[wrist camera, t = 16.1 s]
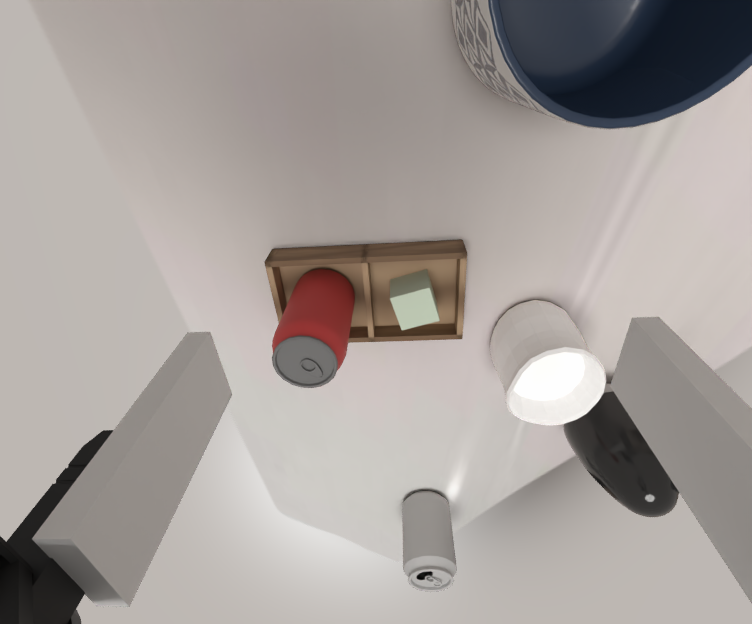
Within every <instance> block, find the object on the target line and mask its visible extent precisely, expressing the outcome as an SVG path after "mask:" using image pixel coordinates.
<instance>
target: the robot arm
mask: <svg viewBox="0 0 752 624" xmlns="http://www.w3.org/2000/svg"><path fill="white" fill-rule="evenodd" d="M610 387H611V388H612V390H613V392H614V393H615V395H616V396H617V398H618V399H619V401H620V402H621V404H622V405H623V407H624V408H625V410H626V411H627V413H628V415H629V416H630V418H631V419H632V421H633V422H634V424H635V425H636V427H637V428H638V430H639V431H640V433H641V434H642V436H643V438H644V439H645V441H646V442H647V444H648V445H649V447H650V448H651V450H652V451H653V453H654V454H655V456H656V457H657V459H658V461H659V462H660V464H661V465H662V467H663V468H664V470H665V471H666V473H667V474H668V476H669V477H670V479H671V480H672V482H673V484H674V485H675V487H676V488H677V490H678V491H679V493H680V494H681V496H682V497H683V499H684V500H685V502H686V503H687V505H688V506H689V508H690V509H691V511H692V512H693V514H694V516H695V517H696V519H697V520H698V522H699V523H700V525H701V526H702V528H703V529H704V531H705V533H706V534H707V536H708V537H709V539H710V540H711V542H712V543H713V545H714V546H715V548H716V549H717V551H718V552H719V554H720V555H721V557H722V559H723V560H724V562H725V563H726V565H727V566H728V568H729V569H730V571H731V572H732V574H733V575H734V577H735V579H736V580H737V581H738V583H739V585H740V586H741V588H742V589H743V591H744V592H745V594H746V595H747V597H748V598H749V600H750V602H751V603H752V408H750V407H749V405H748V404H746V403H745V402H744V401H743V400H742V399H741V398H740V397H739V396H738V395H737V394H736V393H735V392H734V391H733V390H732V389H731V388H730V387H729V386H728V385H727V384H726V383H725V382H724V381H723V380H722V379H721V378H720V377H719V376H718V375H717V374H716V373H715V372H714V371H713V370H712V369H711V368H710V367H709V366H708V365H707V364H706V363H705V362H704V361H703V360H702V359H701V358H700V357H699V356H698V355H697V354H696V353H695V352H694V351H693V350H692V349H691V348H690V347H689V346H688V345H687V344H686V343H685V342H684V341H683V340H682V339H681V338H680V337H679V336H678V335H677V334H676V333H675V332H674V331H672V330H671V329H670V328H669V327H668V326H667V325H666V324H665V323H664V322H663V321H662V320H661V319H660V318H659V317H641V318H632V320H631V323H630V326H629V329H628V332H627V335H626V338H625V341H624V344H623V347H622V350H621V354H620V357H619V360H618V363H617V366H616V369H615V372H614V375H613V378H612V381H611V385H610ZM231 396H232V393H231V390H230V387H229V384H228V381H227V378H226V375H225V373H224V370H223V367H222V364H221V361H220V358H219V356H218V353H217V350H216V347H215V344H214V341H213V339H212V336H211V333H210V332H194V333H187V334H186V335H185V337H184V338H183V340H182V341H181V342H180V343H179V345H178V346H177V347H176V349H175V350H174V351H173V352H172V354H171V355H170V356H169V358H168V359H167V360H166V362H165V363H164V364H163V366H162V367H161V368H160V370H159V371H158V372H157V374H156V375H155V376H154V378H153V379H152V380H151V382H150V383H149V384H148V386H147V387H146V388H145V390H144V391H143V392H142V394H141V395H140V396H139V398H138V399H137V400H136V401H135V403H134V404H133V405H132V407H131V408H130V409H129V411H128V412H127V413H126V415H125V416H124V418H123V419H122V420H121V421H120V423H119V424H118V425H117V427H116V428H115V429H114V430H109V431H108V430H107V431H102V432H101V433H99V434H98V435H97V436H96V437H95V438H93V439H92V440H91V441H89V442H88V443H87V444H85V445H84V446H83V447H82V448H81V450H80V451H79V452H78V453H77V455H76V456H75V457H74V459H73V460H72V461H71V462H70V463H69V466H68V468H65V470H64V471H63V472H62V473H61V474H60V476H59V477H58V478H57V480H56V483H55V484H52V486H51V487H50V488H49V489H48V491H47V492H46V493H45V495H44V496H43V497H42V498H41V499H40V501H39V502H38V503H37V505H36V506H35V507H34V508H33V509H32V511H31V512H30V513H29V514H28V516H27V517H26V518H25V519H24V521H23V522H22V523H21V524H20V526H19V527H18V528H17V530H16V531H15V532H14V533H13V534H12V536H11V537H10V538H9V539H8V541H7V542H6V541H5V540H3V538H2V537H0V624H81V619H80V616H79V614H78V612H77V610H76V608H77V606H78V604H79V603H80V601H81V599H82V597H83V596H84V594H85V595H86V596H87V597H88V598H89V599H90V600H91V601H92V602H93V603H94V604H95V605H96V606H115V607H129V606H130V604H131V602H132V600H133V598H134V596H135V594H136V592H137V590H138V588H139V586H140V584H141V582H142V580H143V578H144V576H145V573H146V571H147V569H148V567H149V565H150V563H151V561H152V559H153V557H154V555H155V553H156V551H157V549H158V547H159V544H160V542H161V540H162V538H163V536H164V534H165V532H166V530H167V528H168V526H169V524H170V522H171V519H172V518H173V516H174V514H175V512H176V509H177V507H178V505H179V503H180V501H181V499H182V497H183V495H184V493H185V491H186V489H187V487H188V485H189V483H190V481H191V478H192V476H193V474H194V472H195V470H196V468H197V466H198V464H199V462H200V460H201V458H202V456H203V454H204V452H205V450H206V448H207V445H208V443H209V441H210V439H211V437H212V435H213V433H214V431H215V429H216V427H217V425H218V423H219V421H220V418H221V416H222V414H223V412H224V410H225V408H226V406H227V404H228V402H229V400H230V398H231Z"/></svg>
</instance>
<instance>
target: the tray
mask: <svg viewBox="0 0 752 624" xmlns="http://www.w3.org/2000/svg"><path fill="white" fill-rule="evenodd" d="M466 264H467V251H466V248H465V245H464V243H463V240H447V241H426V242H406V243H385V244H364V245H343V246H323V247H302V248H281V249H272V251H271V252H270V254H269V256H268V257H267V259H266V260H265V266H266V271H267V275H268V279H269V283H270V287H271V292H272V296H273V300H274V304H275V308H276V313H277V317H278V321H279V323H280V320H281V318H282V316H283V313H284V311H285V309H286V306H287V304H288V302H289V300H290V297H291V295H292V293H293V290H294V288H295V286H296V284H297V282H298V281H299V279H300V278H301V277H302V276H303V275H305V274H306V273H308V272H310V271H314V270H318V269H326V270H332V271H334V272H337V273H339V274H341V275H342V276H343V277H345V278H346V279H347V280H348V282H349V283H350V284H351V286H352V287H353V290H354V293H355V303H354V309H353V315H352V322H351V328H350V334H349V340H348V342H381V341H413V340H446V339H462V334H463V317H464V299H465V281H466ZM425 269H427V271H428V275H429V278H430V281H431V284H432V288H433V291H434V294H435V298H436V301H437V307H438V313H439V319H440V321H437V322H433V323H429V324H425V325H421V326H417V327H413V328H410V329H406V330H401V327H400V324H399V322H398V319H397V316H396V314H395V311H394V308H393V306H392V303H391V300H390V279H393V278H397V277H401V276H404V275H408V274H411V273H415V272H418V271H422V270H425Z"/></svg>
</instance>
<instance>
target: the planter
mask: <svg viewBox="0 0 752 624" xmlns="http://www.w3.org/2000/svg"><path fill="white" fill-rule="evenodd" d="M451 8H452V17H453V26H454V30H455V34H456V37H457V41H458V45H459V47H460V49H461V52H462V54H463V56H464V59H465V61H466V62H467V64H468V65H469V67H470V68H471V70H472V72H473V73H474V74H475V75H476V76H477V78H478V79H479V80H480V81H481V82H482V83H483V84H484V85H485V86H486V87H488V88H489V89H490V90H492V91H493V92H494V93H496V94H498V95H500V96H502V97H504V98H506V99H508V100H510V101H512V102H515V103H517V104H520V105H522V106H525V107H527V108H530V109H533V110H535V111H538V112H541V113H543V114H546V115H549V116H551V117H554V118H557V119H560V120H563V121H566V122H570V123H573V124H577V125H581V126H584V127H589V128H600V129H620V128H633V127H637V126H641V125H646V124H650V123H654V122H658V121H660V120H663V119H666V118H668V117H671V116H673V115H676V114H679V113H681V112H683V111H685V110H687V109H689V108H691V107H693V106H695V105H696V104H698V103H700V102H702V101H704V100H706V99H708V98H709V97H711V96H712V95H714V94H715V93H717V92H718V91H719V90H721V89H722V88H724V87H725V86H727V85H728V84H730V83H731V82H733V81H734V80H735V79H736V78H737V77H739V76H740V75H741V74H742V73H743V72H744V71H746V70H747V69H748V68H749V67H750V66H752V0H451Z"/></svg>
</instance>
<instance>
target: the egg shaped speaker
mask: <svg viewBox="0 0 752 624" xmlns="http://www.w3.org/2000/svg"><path fill="white" fill-rule="evenodd" d="M610 385H611V384H605V389H604V393H603V395H602V396H601V398H600V400H599V401H598V402H597V403H596V404H595V405H594V406H593V408H592V409H591V410H590V411H589V412H588V413H587V414H585V415H584V416H582V417H580V418H578V419H577V420H574V421H571V422H568V423H565V424H564V433H565V436H566V438H567V440H568V442H569V444H570V446H571V448H572V449H573V451H574V452H575V454H576V455H577V457H578V458H579V460H580V461H581V463H582V464H583V466H584V467H585V468H586V469H587V471H588V472H589V473H590V474H591V476H592V477H593V478H594V479H595V480H596V481H597V482H598V483H599V484H600V485H601V486H602V487H603V488H604V489H605V490H606V491H607V492H608V493H609V494H610V495H611V496H612V497H613V498H615V499H616V500H617V501H618V502H619V503H621V504H622V505H623V506H625V507H626V508H628V509H629V510H631V511H632V512H634V513H636V514H639V515H642V516H646V517H659V516H663V515H665V514H667V513H669V512H670V511H671V510H672V509H673V508H674V507H675V505H676V503H677V499H678V494H679V491H678V490H677V488H676V487H675V485H674V484H673V482H672V480H671V479H670V477H669V476H668V474H667V473H666V471H665V470H664V468H663V467H662V465H661V464H660V462H659V461H658V459H657V457H656V456H655V454H654V453H653V451H652V450H651V448H650V447H649V445H648V444H647V442H646V441H645V439H644V438H643V436H642V434H641V433H640V431H639V430H638V428H637V427H636V425H635V424H634V422H633V421H632V419H631V418H630V416H629V415H628V413H627V411H626V410H625V408H624V407H623V405H622V404H621V402H620V401H619V399H618V398H617V396H616V395H615V393H614V392H613V390H612V388H611V387H610Z"/></svg>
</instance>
